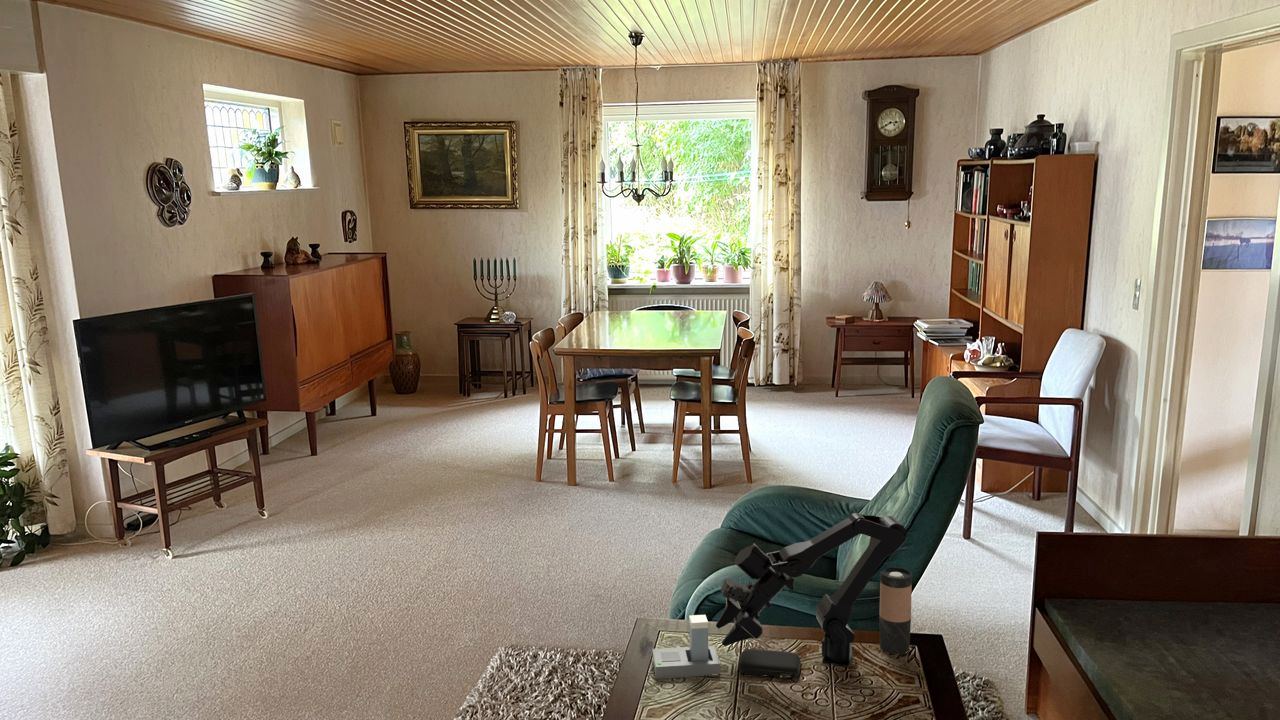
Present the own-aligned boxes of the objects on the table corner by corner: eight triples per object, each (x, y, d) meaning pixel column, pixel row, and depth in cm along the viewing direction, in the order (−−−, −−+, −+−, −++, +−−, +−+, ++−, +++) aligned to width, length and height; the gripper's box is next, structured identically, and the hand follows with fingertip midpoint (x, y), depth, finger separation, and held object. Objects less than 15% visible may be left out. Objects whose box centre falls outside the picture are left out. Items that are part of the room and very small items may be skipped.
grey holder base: (714, 656, 219) (714, 645, 219) (720, 675, 211) (720, 663, 210) (652, 660, 218) (652, 648, 218) (656, 678, 210) (655, 666, 209)
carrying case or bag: (736, 678, 210) (799, 684, 206) (736, 666, 209) (799, 672, 206) (741, 657, 220) (800, 662, 217) (741, 645, 219) (801, 650, 216)
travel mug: (914, 655, 218) (916, 578, 215) (883, 655, 218) (884, 579, 215) (905, 640, 226) (907, 566, 223) (875, 641, 226) (876, 567, 223)
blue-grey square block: (705, 662, 217) (705, 614, 215) (708, 670, 213) (708, 621, 211) (689, 663, 217) (689, 615, 215) (692, 671, 213) (691, 622, 211)
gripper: (733, 554, 221) (691, 599, 222) (748, 584, 203) (701, 632, 204) (765, 582, 223) (722, 626, 224) (781, 615, 204) (735, 662, 205)
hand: (719, 635), depth 214 cm, fingers open, 9 cm apart
